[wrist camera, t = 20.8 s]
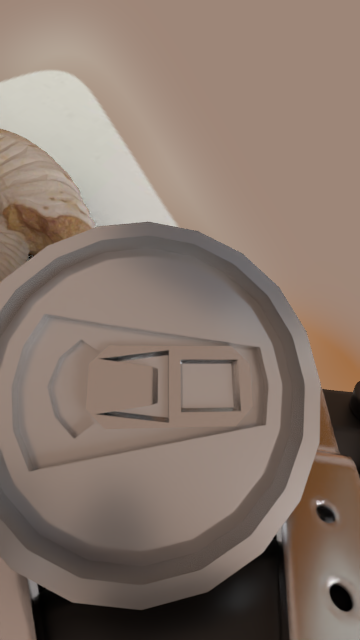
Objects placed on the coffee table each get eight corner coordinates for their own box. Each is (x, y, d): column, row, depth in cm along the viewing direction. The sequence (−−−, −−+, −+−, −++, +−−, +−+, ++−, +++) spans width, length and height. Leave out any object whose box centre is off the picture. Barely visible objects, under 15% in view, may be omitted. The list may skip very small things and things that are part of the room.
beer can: (197, 343, 16) (312, 217, 5) (200, 447, 15) (367, 614, 4) (98, 342, 16) (-36, 199, 4) (92, 450, 15) (-127, 659, 3)
